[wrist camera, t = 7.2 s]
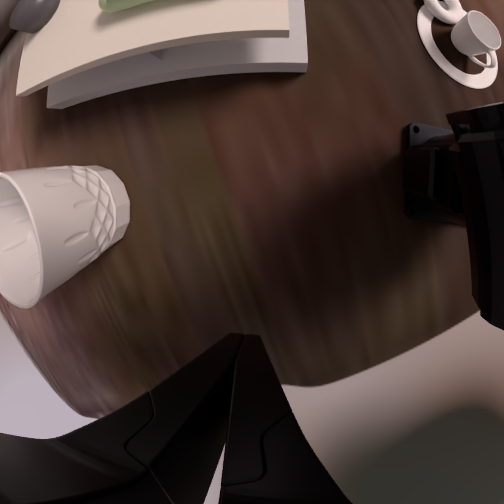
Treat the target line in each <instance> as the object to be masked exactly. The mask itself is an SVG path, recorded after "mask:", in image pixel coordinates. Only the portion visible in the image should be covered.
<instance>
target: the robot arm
mask: <svg viewBox="0 0 504 504" xmlns="http://www.w3.org/2000/svg"><path fill="white" fill-rule="evenodd" d="M446 117H447V120H448V122H449V124H451V127H452V130H449V129H445V128H441V127H436V126H432V125H427V124H422V123H417V122H413V123H411V124H409V125H408V129H407V133H408V141H407V149H406V150H405V151H404V175H403V188H404V189H405V191H406V192H405V204H404V214H405V215H406V216H407V217H408V218H410V219H417V220H428V221H439V222H449V223H457V224H459V225H461V226H463V227H465V228H466V229H467V236H468V244H469V253H470V265H471V280H472V296H473V298H474V300H475V302H476V304H477V305H478V307H479V308H480V315H481V317H482V318H484V319H485V320H486V321H487V322H489V323H490V324H492V325H493V326H495V327H498V328H500V329H502V330H504V102H500V103H494V104H489V105H484V106H479V107H475V108H470V109H466V110H461V111H457V112H453V113H448V114H446ZM413 127H416V128H417V133H415V132H414V131H413ZM411 208H413V210H414V211H413V213H412V214H410V213H409V210H410V209H411ZM225 442H226V443H225ZM224 445H225V453H224V461H223V470H222V479H221V490H220V497H219V503H218V504H353V503H352V502H351V501H350V500H349V499H348V498H347V497H346V496H345V494H344V493H343V492H342V490H341V489H340V488H339V486H338V485H337V484H336V482H335V481H334V480H333V478H332V477H331V475H330V474H329V473H328V471H327V470H326V469H325V467H324V466H323V464H322V463H321V461H320V460H319V458H318V457H317V456H316V454H315V453H314V451H313V449H312V448H311V446H310V445H309V443H308V441H307V440H306V438H305V436H304V434H303V433H302V430H301V429H300V426H299V425H298V422H297V420H296V418H295V416H294V414H293V412H292V409H291V407H290V405H289V402H288V400H287V398H286V396H285V393H284V391H283V389H282V386H281V384H280V382H279V380H278V377H277V375H276V373H275V370H274V368H273V366H272V363H271V361H270V359H269V356H268V354H267V352H266V349H265V347H264V344H263V342H262V340H261V337H260V336H259V335H253V334H246V335H245V336H244V334H240V333H229V334H228V335H226V336H225V337H224V338H222V339H221V340H220V341H218V342H217V343H216V344H214V345H213V346H211V347H210V348H209V349H207V350H206V351H205V352H203V353H202V354H200V355H199V356H198V357H196V358H195V359H193V360H192V361H191V362H189V363H188V364H186V365H185V366H183V367H182V368H181V369H179V370H178V371H176V372H175V373H173V374H172V375H171V376H169V377H168V378H166V379H165V380H163V381H162V382H160V383H159V384H157V385H156V386H154V387H153V388H151V389H150V390H149V392H145V393H144V394H142V395H141V396H139V397H138V398H136V399H135V400H133V401H131V402H130V403H128V404H126V405H125V406H123V407H121V408H120V409H118V410H116V411H114V412H112V413H110V414H108V415H106V416H104V417H102V418H100V419H98V420H96V421H94V422H92V423H90V424H88V425H85V426H83V427H81V428H79V429H77V430H74V431H72V432H70V433H68V434H65V435H63V436H60V437H56V438H50V439H34V438H27V437H20V436H14V435H9V434H4V433H0V504H203V503H204V501H205V498H206V496H207V493H208V490H209V487H210V485H211V482H212V479H213V476H214V473H215V471H216V468H217V465H218V462H219V459H220V457H221V454H222V451H223V448H224Z"/></svg>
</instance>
